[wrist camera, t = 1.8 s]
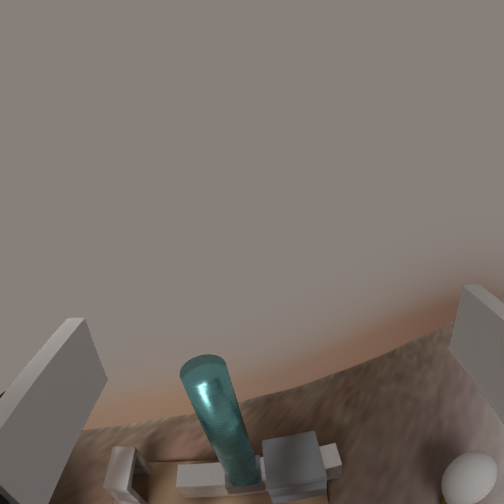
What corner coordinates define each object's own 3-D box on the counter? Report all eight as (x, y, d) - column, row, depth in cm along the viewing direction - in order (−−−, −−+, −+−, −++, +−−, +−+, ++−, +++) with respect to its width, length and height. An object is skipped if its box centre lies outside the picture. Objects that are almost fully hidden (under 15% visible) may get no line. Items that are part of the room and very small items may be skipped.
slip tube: (334, 453, 32) (333, 329, 25) (341, 479, 28) (348, 360, 21) (186, 474, 32) (120, 362, 25) (185, 500, 28) (108, 394, 21)
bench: (314, 448, 35) (312, 419, 32) (328, 505, 27) (329, 484, 24) (124, 464, 35) (102, 438, 32) (113, 516, 26) (86, 494, 24)
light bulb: (416, 518, 22) (441, 483, 18) (436, 478, 25) (462, 433, 22) (460, 530, 18) (497, 496, 14) (477, 489, 21) (512, 445, 18)
